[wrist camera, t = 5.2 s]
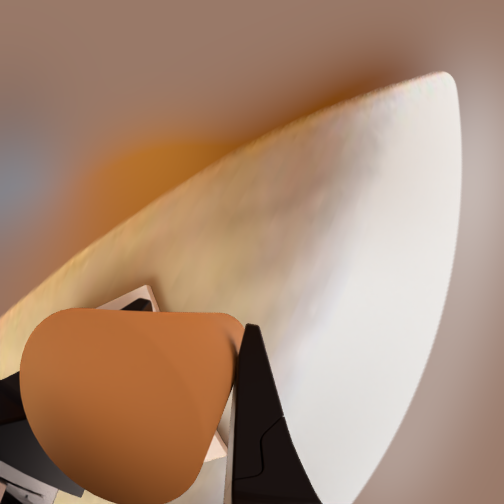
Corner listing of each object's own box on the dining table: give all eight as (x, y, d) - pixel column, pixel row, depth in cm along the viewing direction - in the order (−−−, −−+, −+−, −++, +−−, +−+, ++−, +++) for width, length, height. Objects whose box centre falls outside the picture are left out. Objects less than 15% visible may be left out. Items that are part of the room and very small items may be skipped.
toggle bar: (257, 355, 15) (248, 486, 3) (205, 377, 15) (80, 508, 2) (232, 303, 16) (136, 268, 3) (181, 326, 15) (-1, 343, 3)
